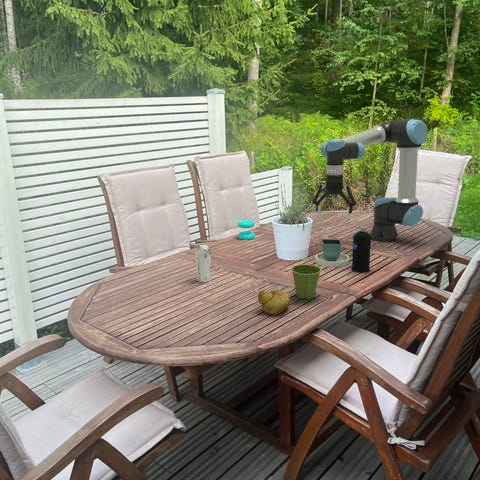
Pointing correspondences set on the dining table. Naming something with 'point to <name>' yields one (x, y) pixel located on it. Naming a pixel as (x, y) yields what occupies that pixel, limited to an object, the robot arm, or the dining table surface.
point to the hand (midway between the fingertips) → (333, 219)
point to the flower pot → (331, 249)
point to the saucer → (341, 261)
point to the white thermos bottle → (203, 262)
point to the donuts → (246, 224)
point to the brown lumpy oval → (274, 301)
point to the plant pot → (305, 280)
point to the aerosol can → (361, 251)
